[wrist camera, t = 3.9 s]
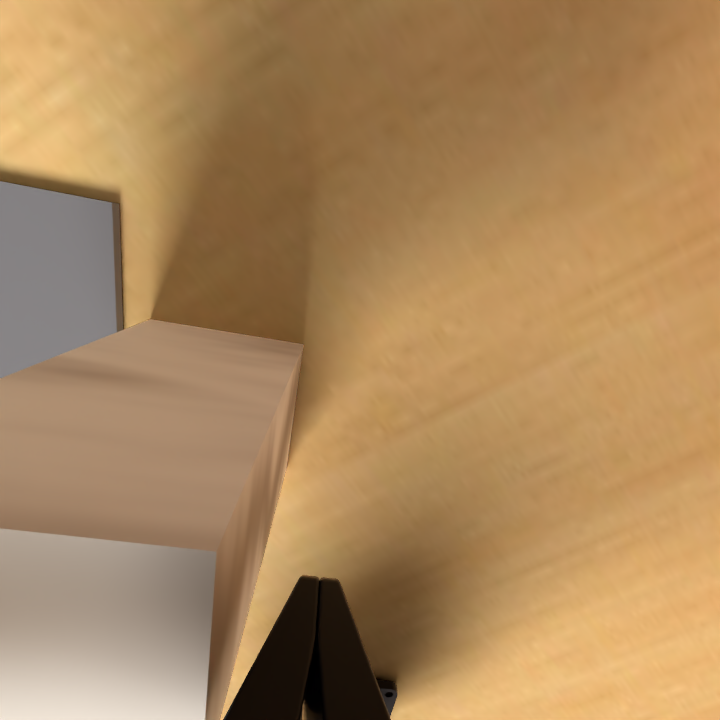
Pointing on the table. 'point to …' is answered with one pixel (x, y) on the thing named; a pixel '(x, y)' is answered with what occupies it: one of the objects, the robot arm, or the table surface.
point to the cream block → (137, 519)
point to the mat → (56, 274)
